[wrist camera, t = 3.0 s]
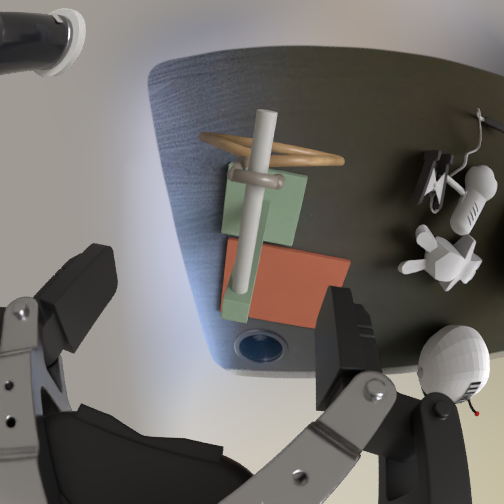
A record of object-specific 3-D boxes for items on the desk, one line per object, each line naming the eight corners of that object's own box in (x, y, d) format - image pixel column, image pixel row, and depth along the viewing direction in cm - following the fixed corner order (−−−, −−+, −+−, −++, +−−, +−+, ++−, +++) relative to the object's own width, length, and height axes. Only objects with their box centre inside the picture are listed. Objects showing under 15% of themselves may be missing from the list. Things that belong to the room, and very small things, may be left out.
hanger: (200, 139, 27) (146, 171, 18) (201, 130, 27) (146, 157, 17) (342, 165, 27) (366, 212, 17) (344, 156, 26) (370, 198, 16)
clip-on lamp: (450, 91, 31) (400, 195, 36) (473, 82, 24) (419, 201, 30) (503, 140, 31) (457, 238, 36) (528, 140, 25) (480, 251, 30)
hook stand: (222, 229, 43) (172, 340, 25) (239, 94, 33) (176, 103, 15) (292, 242, 43) (286, 363, 25) (320, 108, 33) (356, 131, 15)
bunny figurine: (467, 299, 39) (400, 288, 38) (453, 280, 44) (388, 267, 42) (495, 251, 34) (431, 229, 33) (479, 234, 39) (414, 211, 37)
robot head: (393, 359, 53) (410, 446, 36) (423, 306, 46) (458, 401, 29) (454, 360, 52) (478, 435, 35) (486, 311, 45) (525, 390, 28)
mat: (220, 308, 51) (220, 311, 50) (228, 236, 44) (227, 239, 43) (323, 326, 50) (324, 330, 50) (349, 259, 43) (350, 262, 42)
